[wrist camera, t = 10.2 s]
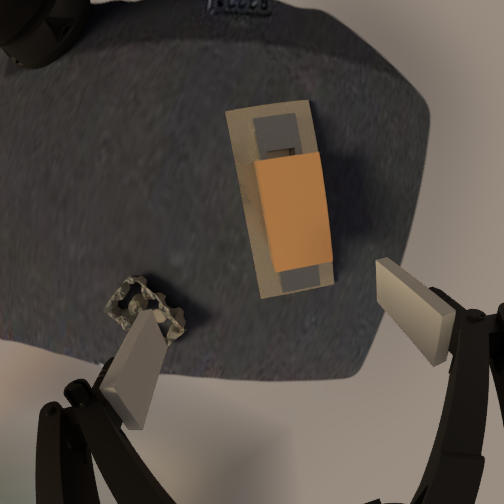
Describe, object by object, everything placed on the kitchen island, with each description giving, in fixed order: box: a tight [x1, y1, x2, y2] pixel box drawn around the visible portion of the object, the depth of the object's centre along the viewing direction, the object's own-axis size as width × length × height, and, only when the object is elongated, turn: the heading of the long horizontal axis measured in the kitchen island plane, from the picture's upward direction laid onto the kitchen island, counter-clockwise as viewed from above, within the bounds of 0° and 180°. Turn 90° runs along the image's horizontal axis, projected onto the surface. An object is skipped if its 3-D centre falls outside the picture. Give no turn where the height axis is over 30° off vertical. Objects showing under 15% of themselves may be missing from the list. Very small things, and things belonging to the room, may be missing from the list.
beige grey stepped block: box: [225, 100, 334, 299], centre depth 33 cm, size 24×10×4 cm, turn 10°
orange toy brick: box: [254, 152, 333, 272], centre depth 31 cm, size 11×6×7 cm, turn 10°
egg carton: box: [103, 276, 187, 347], centre depth 37 cm, size 11×8×4 cm
